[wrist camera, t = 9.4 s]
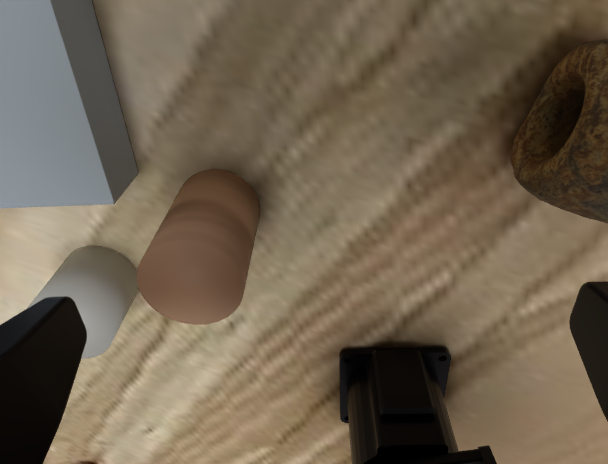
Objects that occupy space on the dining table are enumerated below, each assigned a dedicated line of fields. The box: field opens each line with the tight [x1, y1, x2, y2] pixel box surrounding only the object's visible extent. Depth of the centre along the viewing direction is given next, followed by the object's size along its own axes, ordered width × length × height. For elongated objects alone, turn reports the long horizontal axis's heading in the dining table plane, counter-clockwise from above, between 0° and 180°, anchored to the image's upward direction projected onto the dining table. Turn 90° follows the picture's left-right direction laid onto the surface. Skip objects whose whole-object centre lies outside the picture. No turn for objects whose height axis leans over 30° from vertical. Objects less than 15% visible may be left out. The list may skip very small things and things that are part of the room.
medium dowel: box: [137, 170, 260, 324], centre depth 19 cm, size 4×4×6 cm
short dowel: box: [27, 246, 139, 359], centre depth 23 cm, size 4×4×4 cm
